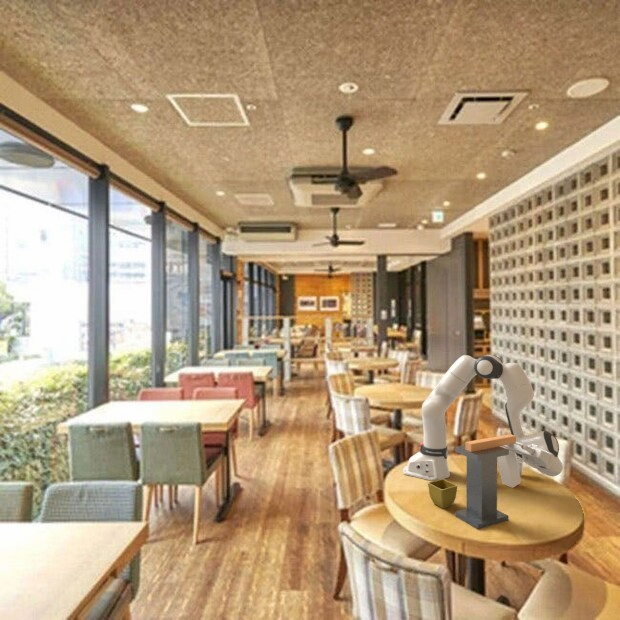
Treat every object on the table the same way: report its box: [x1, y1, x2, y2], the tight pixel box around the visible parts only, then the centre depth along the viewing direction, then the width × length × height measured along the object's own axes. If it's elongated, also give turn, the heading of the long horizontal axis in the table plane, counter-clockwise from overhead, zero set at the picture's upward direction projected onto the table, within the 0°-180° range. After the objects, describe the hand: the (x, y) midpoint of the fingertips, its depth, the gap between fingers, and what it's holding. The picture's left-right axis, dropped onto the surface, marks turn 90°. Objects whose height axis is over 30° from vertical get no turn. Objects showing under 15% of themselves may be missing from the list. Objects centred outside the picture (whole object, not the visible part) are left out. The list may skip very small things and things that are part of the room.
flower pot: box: [427, 479, 458, 509], centre depth 198 cm, size 9×9×9 cm
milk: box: [497, 446, 522, 489], centre depth 217 cm, size 6×6×22 cm
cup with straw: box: [515, 434, 527, 478], centre depth 230 cm, size 8×9×20 cm
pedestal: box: [454, 444, 510, 530], centre depth 185 cm, size 16×12×28 cm
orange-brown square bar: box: [464, 433, 516, 452], centre depth 187 cm, size 24×3×3 cm, turn 115°
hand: (513, 443), depth 193 cm, fingers open, 8 cm apart
